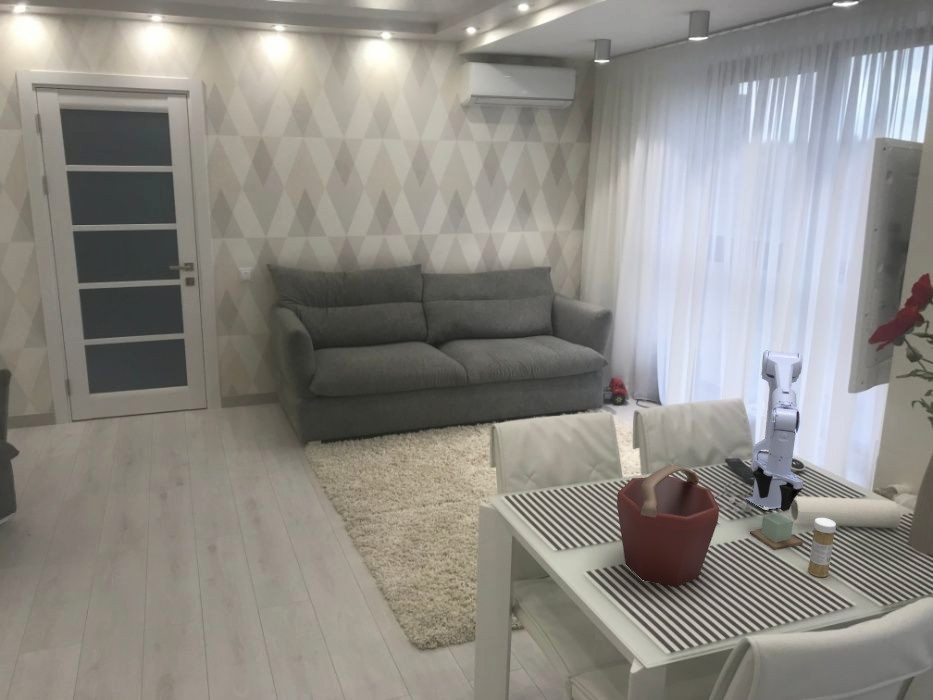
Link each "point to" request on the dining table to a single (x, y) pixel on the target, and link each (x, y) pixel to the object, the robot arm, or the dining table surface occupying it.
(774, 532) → the green cube
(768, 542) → the walnut board
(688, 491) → the bucket
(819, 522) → the sprinkles bottle
